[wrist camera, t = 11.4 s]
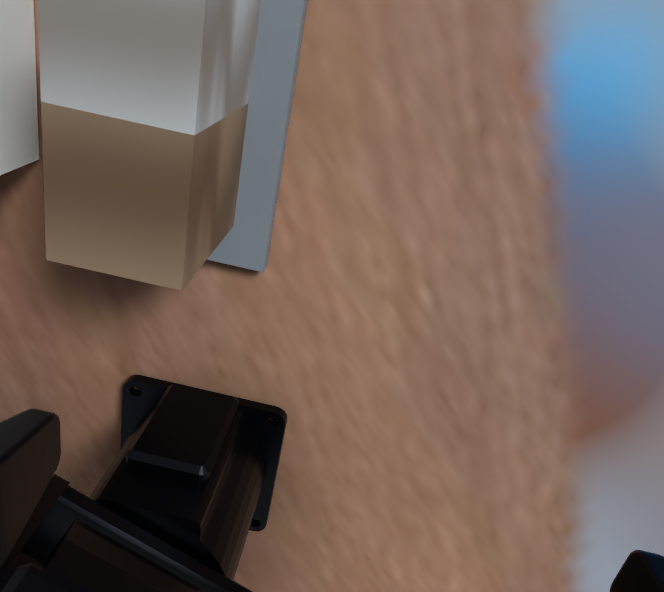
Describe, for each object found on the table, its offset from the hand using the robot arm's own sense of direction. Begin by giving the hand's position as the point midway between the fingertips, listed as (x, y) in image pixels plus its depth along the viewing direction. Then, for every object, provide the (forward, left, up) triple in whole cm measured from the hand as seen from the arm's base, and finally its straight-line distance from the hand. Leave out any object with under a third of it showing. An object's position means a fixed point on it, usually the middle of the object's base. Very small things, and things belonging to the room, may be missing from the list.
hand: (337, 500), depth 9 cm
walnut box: (+3, +7, -11) cm, 13 cm away
